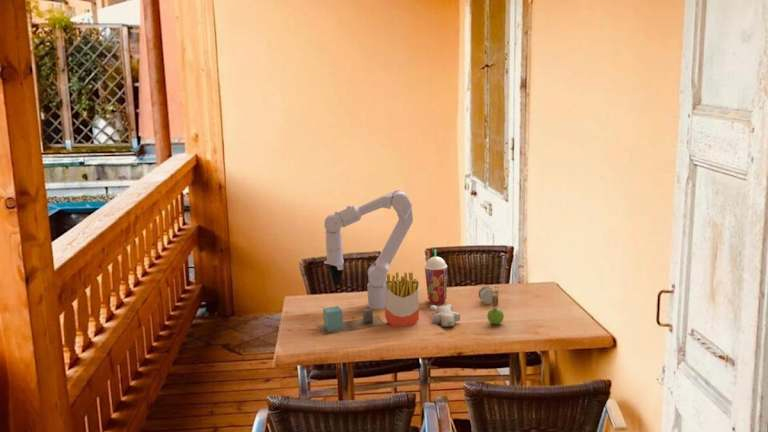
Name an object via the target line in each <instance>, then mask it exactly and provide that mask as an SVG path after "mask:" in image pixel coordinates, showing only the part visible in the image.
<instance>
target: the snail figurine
mask: <svg viewBox="0 0 768 432" xmlns="http://www.w3.org/2000/svg"><path fill="white" fill-rule="evenodd" d="M494 288H495V290H494V292H495V294H494V295H493V296H492V303H491V306H492V308H490V309H489V310H488V312H487V314H486V315H487V316H486V317H487V320H488V321H489V323H490V324H492V325H500V324H501V323H502V322H503V321H504V318H505V315H504V311H503V310H501V309H500V308H498V307H499V291H500V290H499V286H496V285H495V286H494Z"/></svg>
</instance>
